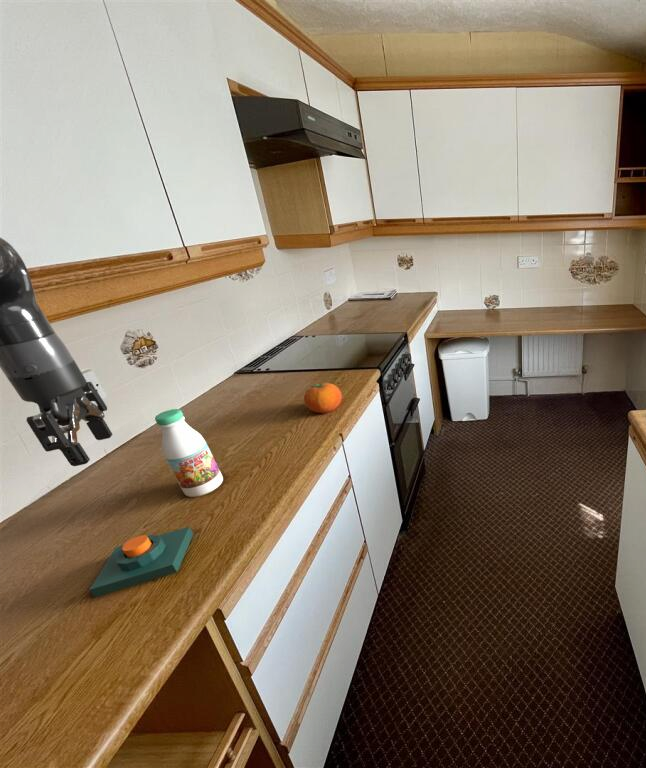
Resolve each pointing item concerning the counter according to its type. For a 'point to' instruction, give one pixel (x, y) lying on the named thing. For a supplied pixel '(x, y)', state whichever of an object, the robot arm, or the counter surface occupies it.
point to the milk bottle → (188, 455)
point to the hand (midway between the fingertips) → (94, 450)
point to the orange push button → (136, 546)
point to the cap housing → (143, 563)
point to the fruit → (322, 398)
